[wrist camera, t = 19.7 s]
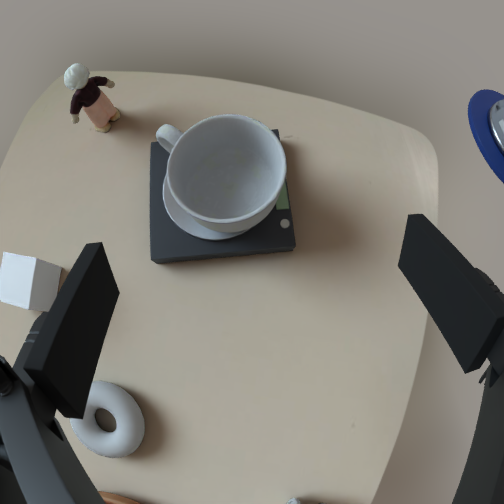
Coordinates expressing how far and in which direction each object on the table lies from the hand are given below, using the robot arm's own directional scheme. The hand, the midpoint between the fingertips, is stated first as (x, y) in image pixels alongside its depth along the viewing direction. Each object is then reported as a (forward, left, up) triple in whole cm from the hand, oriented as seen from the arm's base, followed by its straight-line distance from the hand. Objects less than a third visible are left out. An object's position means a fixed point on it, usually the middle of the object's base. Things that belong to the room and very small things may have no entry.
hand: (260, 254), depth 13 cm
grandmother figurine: (+19, -26, -24) cm, 40 cm away
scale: (+3, -12, -24) cm, 27 cm away
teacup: (+2, -12, -21) cm, 24 cm away
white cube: (+28, -3, -24) cm, 37 cm away
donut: (+19, +14, -24) cm, 33 cm away
